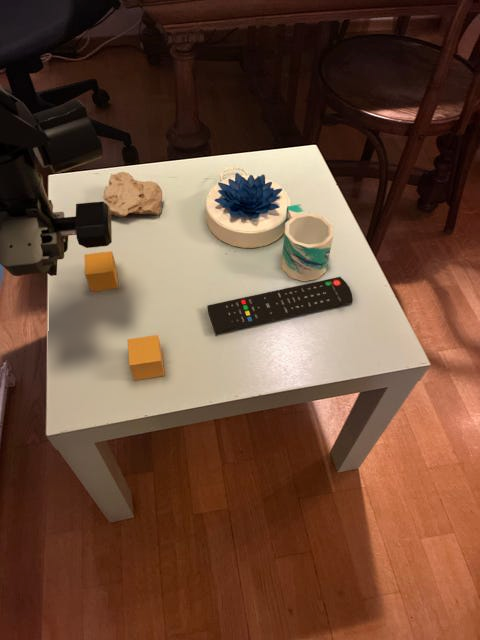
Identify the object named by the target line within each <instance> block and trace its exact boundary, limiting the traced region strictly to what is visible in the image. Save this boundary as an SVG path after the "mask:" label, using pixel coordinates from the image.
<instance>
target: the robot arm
mask: <svg viewBox="0 0 480 640" xmlns="http://www.w3.org/2000/svg"><path fill="white" fill-rule="evenodd" d="M30 150H33V152H34V154H35V157H36V158H37V160H38V162H39V164H40V165H41V167H42V168H43V169H45V168H48V167H50V170H51V171H52V173H53V174H60V173H62V172H67V171H69V170H71V169H74V168H76V167H79V166H82V165H86V164H88V163H90V162H94V161H96V160H99V159H101V158H103V157H104V149H103V144H102V140H101V139H100V137H99V136H98V134H97V132H96V128H95V127H94V125H93V123H92V121H91V119H90V117H89V115H88V111H87V108H86V106H85V105H84V104H83V102H82V101H81V100H80V99H78V98H74V99H71V100H68V101H66V102H64V103H63V104H60V105H57V106H55V107H52V108H48V109H45V110H41V111H39V112H36V113H31V111H30V110H29V108H28V107H27V106H26V104H25V103H24V102H23V101H21V100H20V99H18V98H17V97H15V96H14V95H13V94H11V93H9V92H8V91H6V89H5V87H4V86H3V84H1V83H0V265H1V266H2V267H3V269H5V270H6V271H7V272H8V274H10V275H11V276H14V277H22V276H24V275H25V276H26V275H36V274H37V275H41V274H48V275H49V276H50V277H53V276H57V275H58V261H59V260H64V258H65V253H66V252H67V251H68V249H69V236H76V240H77V243H78V245H79V246H82V247H84V248H86V249H90V248H91V249H92V248H102V247H108V246H109V245H111V244H112V242H113V239H112V238H113V237H112V236H113V235H112V234H113V233H112V232H113V231H112V230H113V229H112V214H111V212H110V208H109V206H108V205H107V204H106V203H105V202H103V201H104V200H103V201H93V202H80V203H76V204H75V216H67V217H66V216H65V212H64V211H55V212H54V204H53V202H52V200H51V199H49V198H48V195H47V192H46V189H45V187H44V177H43V175H42V173H40V172H39V170H38V169H37V166H36V164H35V160H34V159H33V156H32V153H31V151H30Z"/></svg>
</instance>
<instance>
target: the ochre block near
mask: <svg viewBox="0 0 480 640" xmlns="http://www.w3.org/2000/svg"><path fill="white" fill-rule="evenodd" d="M160 342H161V341H160V337H159V334H153V335H148V336H147V335H146V336H140V337H135V338H134V337H133V338H128V339H127V351H128V365H129V369H130V372H131V374H132V378H133V381H139V380H147V379H152V378H153V379H154V378H158V377H164V376H165V368H164V360H163V352H162V347H161V343H160Z"/></svg>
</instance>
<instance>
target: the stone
mask: <svg viewBox="0 0 480 640" xmlns="http://www.w3.org/2000/svg"><path fill="white" fill-rule="evenodd" d="M103 202H105V203H106V204H107V205H108V206H109V208H110V212H111V215H114V216H116V217H121V218H122V217H126V216H127V215H128V214H139V215H156V216H158V215H161V212H162V202H163V190H162V188H161V187H160V185H159V184H158V183H157V182H154V181H151V180H150V181H149V180H147V181H141V180H136V179H134V177H133V176H132V174H130V173H129V172H125V171H120V172H117V173H113V174H112V173H111V174H110V176H109V179H108V185H107V186H106V187H105V188H104V191H103Z"/></svg>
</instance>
